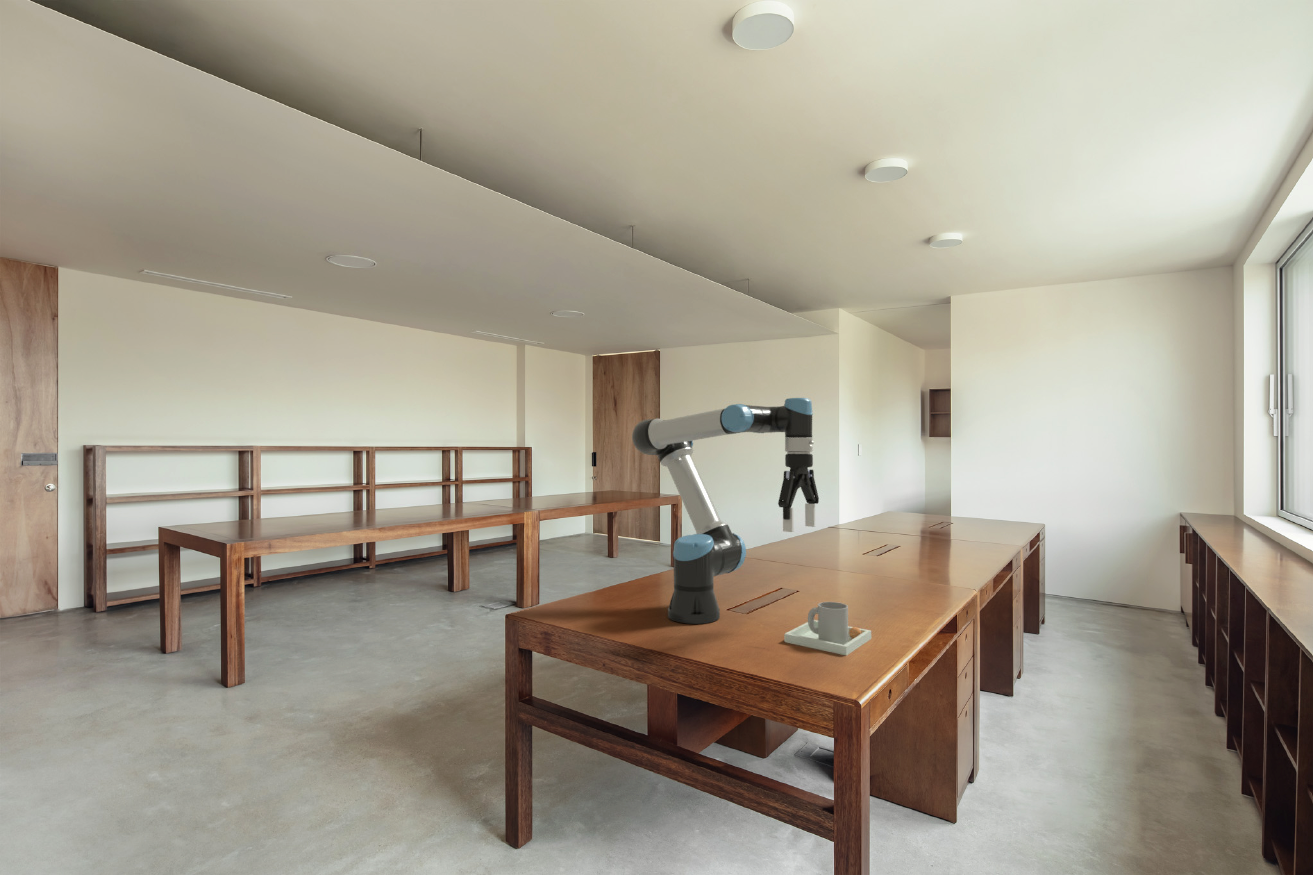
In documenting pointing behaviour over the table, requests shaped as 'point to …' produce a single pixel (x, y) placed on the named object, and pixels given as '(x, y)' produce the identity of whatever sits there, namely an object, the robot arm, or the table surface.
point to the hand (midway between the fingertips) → (799, 529)
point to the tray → (811, 640)
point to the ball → (854, 632)
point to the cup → (830, 622)
